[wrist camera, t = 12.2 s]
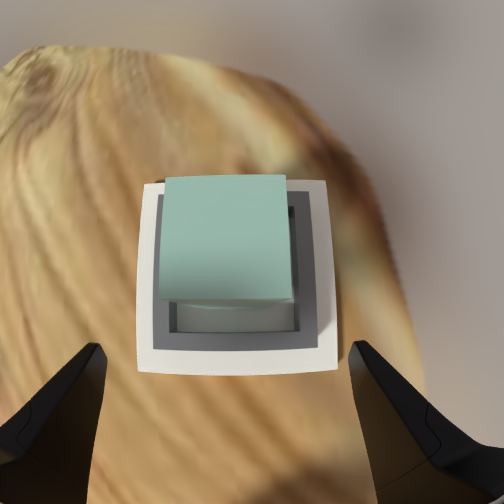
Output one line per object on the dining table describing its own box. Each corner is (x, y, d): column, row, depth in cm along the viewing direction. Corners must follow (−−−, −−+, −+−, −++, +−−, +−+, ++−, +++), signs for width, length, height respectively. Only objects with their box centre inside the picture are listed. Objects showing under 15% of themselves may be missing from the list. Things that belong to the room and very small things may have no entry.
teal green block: (269, 307, 18) (292, 297, 10) (199, 308, 18) (158, 298, 9) (267, 239, 19) (285, 174, 10) (200, 240, 19) (165, 177, 10)
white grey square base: (334, 367, 18) (347, 374, 16) (141, 369, 18) (126, 376, 15) (322, 185, 21) (332, 167, 18) (147, 188, 21) (135, 171, 18)
